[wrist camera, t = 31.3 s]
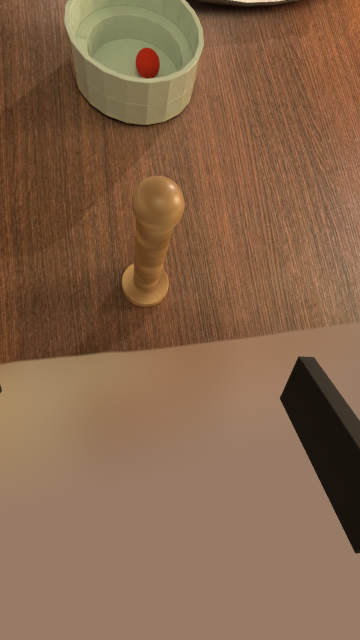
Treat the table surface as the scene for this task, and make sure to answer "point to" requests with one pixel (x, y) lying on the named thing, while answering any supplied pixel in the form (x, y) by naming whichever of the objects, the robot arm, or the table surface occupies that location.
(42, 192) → the table surface
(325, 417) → the robot arm
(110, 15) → the bowl
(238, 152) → the table surface
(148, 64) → the tomato
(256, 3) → the plate
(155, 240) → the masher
